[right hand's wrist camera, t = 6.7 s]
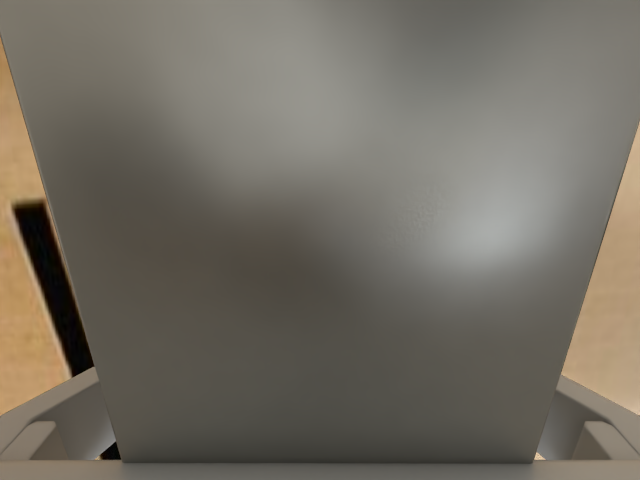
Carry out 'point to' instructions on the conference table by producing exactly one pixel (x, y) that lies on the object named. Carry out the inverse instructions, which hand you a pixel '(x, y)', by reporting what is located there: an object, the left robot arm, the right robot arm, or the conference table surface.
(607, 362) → the conference table surface
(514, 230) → the box
